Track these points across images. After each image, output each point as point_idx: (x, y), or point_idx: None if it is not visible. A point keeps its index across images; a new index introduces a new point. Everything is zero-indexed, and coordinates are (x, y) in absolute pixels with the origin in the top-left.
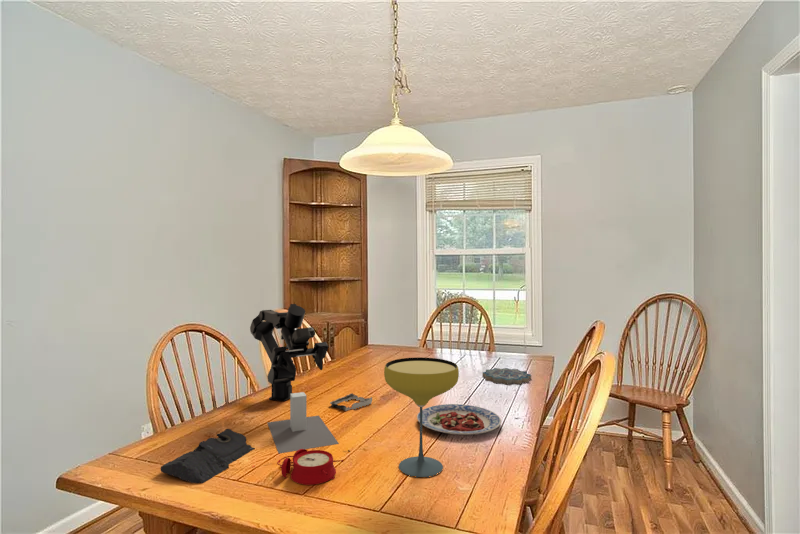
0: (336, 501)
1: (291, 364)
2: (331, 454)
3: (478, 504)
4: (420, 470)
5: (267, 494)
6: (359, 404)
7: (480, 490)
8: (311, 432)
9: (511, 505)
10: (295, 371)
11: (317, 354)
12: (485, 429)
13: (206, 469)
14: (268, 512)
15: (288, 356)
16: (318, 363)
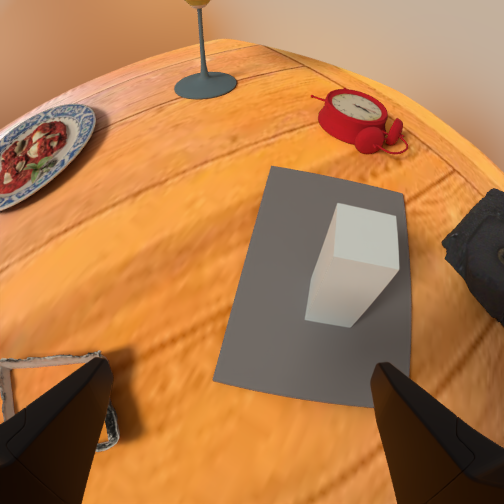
0: (339, 85)
1: (434, 413)
2: (327, 98)
3: (219, 49)
4: (218, 75)
5: (413, 125)
6: (45, 361)
7: (197, 55)
8: (305, 250)
9: (198, 45)
10: (383, 364)
11: (11, 487)
12: (57, 109)
13: (499, 200)
14: (409, 106)
15: (499, 474)
16: (78, 437)
